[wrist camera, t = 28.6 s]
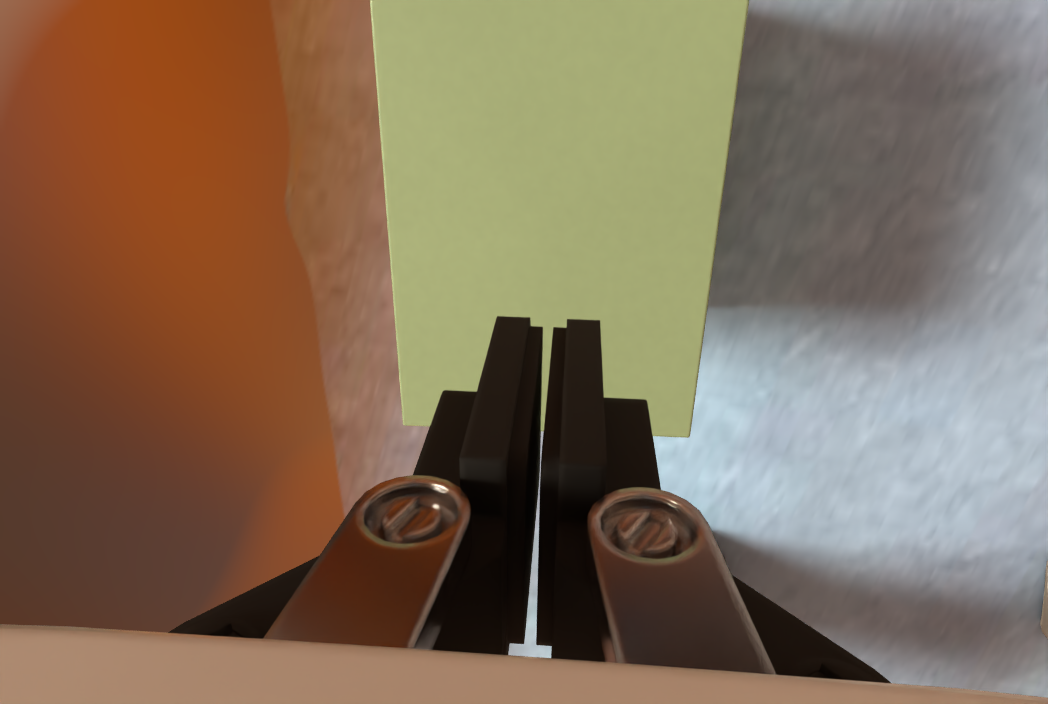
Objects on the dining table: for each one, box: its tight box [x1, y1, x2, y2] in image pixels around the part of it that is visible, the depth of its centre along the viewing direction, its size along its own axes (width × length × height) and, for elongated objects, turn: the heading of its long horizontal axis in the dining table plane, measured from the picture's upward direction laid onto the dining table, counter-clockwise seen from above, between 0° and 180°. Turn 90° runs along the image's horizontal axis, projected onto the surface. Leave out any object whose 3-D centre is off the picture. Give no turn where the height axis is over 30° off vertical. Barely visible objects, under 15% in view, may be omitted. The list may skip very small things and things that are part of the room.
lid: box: [370, 0, 749, 437], centre depth 25 cm, size 16×12×1 cm
